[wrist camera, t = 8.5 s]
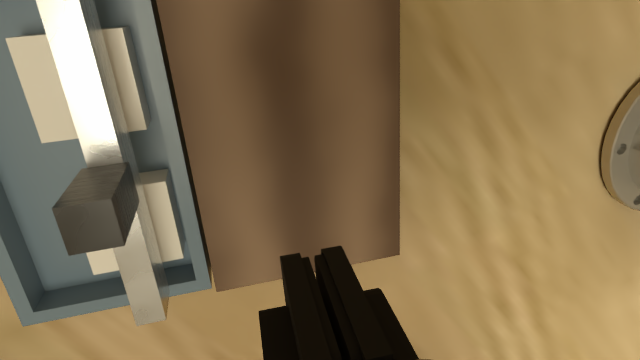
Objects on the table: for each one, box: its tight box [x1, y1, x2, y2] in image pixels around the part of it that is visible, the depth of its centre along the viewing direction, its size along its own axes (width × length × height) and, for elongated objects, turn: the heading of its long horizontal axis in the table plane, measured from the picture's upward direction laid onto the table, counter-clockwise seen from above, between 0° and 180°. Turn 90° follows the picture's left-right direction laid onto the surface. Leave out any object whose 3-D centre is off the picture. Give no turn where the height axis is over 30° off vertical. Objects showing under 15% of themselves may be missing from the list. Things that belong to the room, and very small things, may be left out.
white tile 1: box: [5, 26, 151, 143], centre depth 22 cm, size 5×5×2 cm
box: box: [0, 0, 212, 326], centre depth 23 cm, size 11×18×2 cm, turn 3°
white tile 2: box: [86, 169, 185, 275], centre depth 25 cm, size 5×5×2 cm
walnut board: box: [156, 0, 400, 292], centre depth 25 cm, size 12×18×3 cm, turn 3°
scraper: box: [36, 0, 170, 326], centre depth 19 cm, size 2×16×7 cm, turn 3°
